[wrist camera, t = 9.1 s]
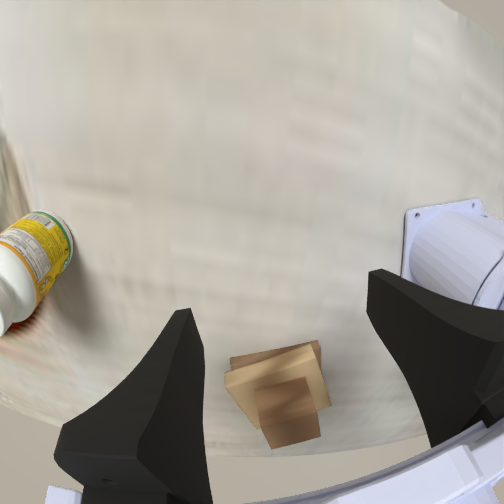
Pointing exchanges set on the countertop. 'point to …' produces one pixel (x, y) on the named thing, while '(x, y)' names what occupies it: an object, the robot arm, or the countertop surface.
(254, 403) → the tile top
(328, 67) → the countertop surface
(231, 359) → the tile bottom
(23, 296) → the supplement bottle
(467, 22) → the countertop surface
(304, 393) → the block
